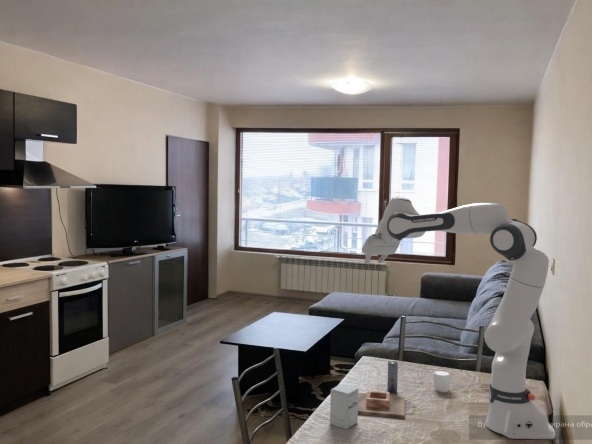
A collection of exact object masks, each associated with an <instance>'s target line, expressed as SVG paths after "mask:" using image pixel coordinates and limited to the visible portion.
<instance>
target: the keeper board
mask: <svg viewBox="0 0 592 444" xmlns="http://www.w3.org/2000/svg"><path fill="white" fill-rule="evenodd" d="M405 405H406V397H405V396H399V395H391V393H390V392H388V391H375V390H367V392H366V393H364V392H358V415H362V414H364V416H372V415H375V417H384V418H385V417H386V418H396V419H405V417H406V415H405V414H406V410H405V409H406V406H405Z"/></svg>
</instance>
